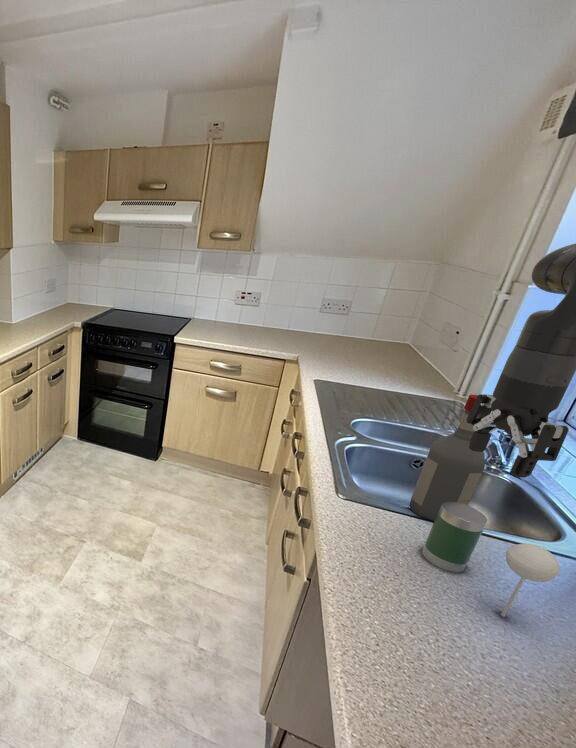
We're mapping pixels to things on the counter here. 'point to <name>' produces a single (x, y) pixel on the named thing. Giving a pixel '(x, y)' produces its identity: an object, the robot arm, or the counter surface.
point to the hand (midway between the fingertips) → (495, 462)
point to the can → (454, 536)
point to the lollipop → (530, 566)
